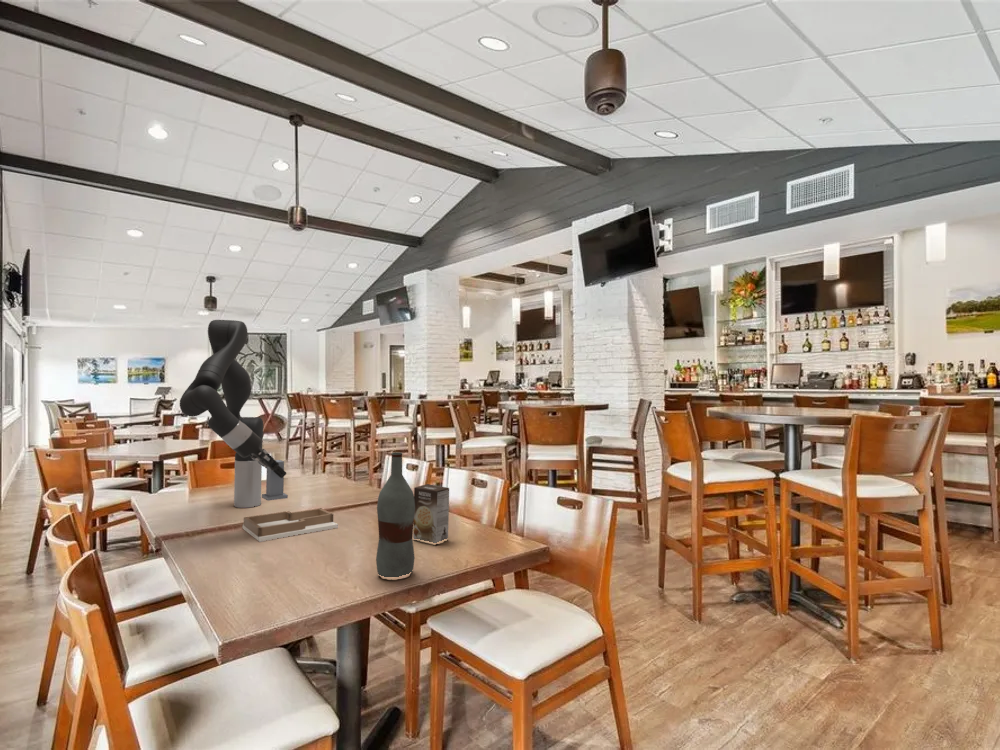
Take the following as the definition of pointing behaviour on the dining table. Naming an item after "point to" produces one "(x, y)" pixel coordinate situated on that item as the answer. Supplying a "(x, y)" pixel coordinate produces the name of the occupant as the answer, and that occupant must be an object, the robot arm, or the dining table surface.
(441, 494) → the coffee box
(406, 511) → the bottle
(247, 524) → the keyhole guide board
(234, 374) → the robot arm
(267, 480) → the slate keyhole peg
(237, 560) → the dining table surface
